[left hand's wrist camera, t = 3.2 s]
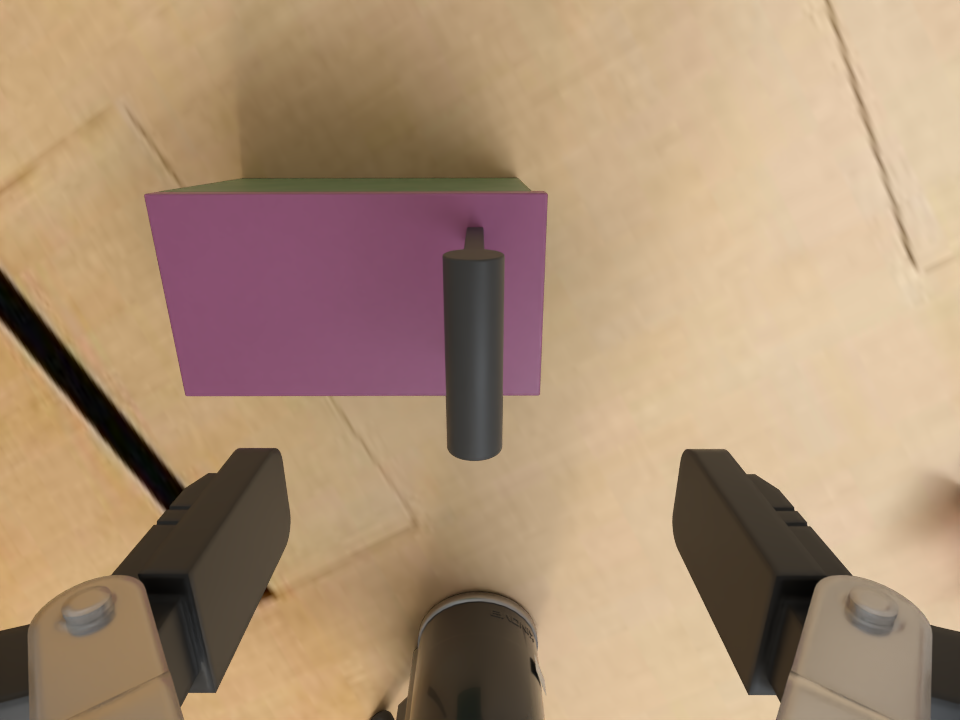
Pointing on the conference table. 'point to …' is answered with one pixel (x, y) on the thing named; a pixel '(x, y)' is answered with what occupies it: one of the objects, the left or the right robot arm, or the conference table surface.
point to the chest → (359, 185)
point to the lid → (359, 297)
